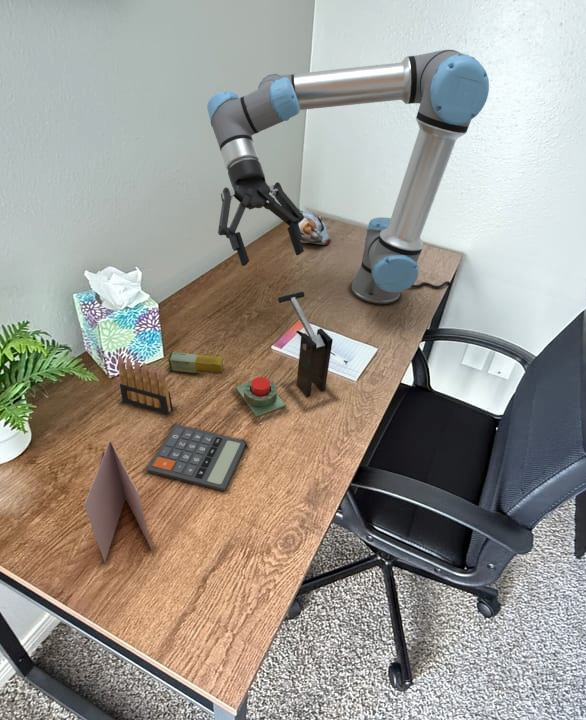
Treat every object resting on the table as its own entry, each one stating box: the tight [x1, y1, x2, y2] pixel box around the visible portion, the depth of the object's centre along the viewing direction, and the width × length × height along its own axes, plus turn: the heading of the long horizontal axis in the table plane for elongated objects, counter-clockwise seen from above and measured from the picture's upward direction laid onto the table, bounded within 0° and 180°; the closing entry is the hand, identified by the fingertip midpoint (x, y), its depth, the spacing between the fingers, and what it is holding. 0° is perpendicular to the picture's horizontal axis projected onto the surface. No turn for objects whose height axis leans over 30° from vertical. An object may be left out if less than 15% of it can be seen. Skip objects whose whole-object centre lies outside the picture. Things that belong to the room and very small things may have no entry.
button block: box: [235, 379, 287, 418], centre depth 100 cm, size 10×7×4 cm
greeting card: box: [83, 440, 153, 562], centre depth 71 cm, size 11×7×15 cm, turn 3°
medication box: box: [167, 351, 224, 374], centre depth 106 cm, size 12×3×4 cm, turn 87°
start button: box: [251, 376, 271, 396], centre depth 99 cm, size 4×4×2 cm
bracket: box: [296, 328, 334, 398], centre depth 101 cm, size 9×8×16 cm
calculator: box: [146, 424, 247, 492], centre depth 88 cm, size 12×1×15 cm
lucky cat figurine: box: [298, 208, 332, 246], centre depth 165 cm, size 15×12×14 cm
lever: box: [277, 291, 325, 352], centre depth 99 cm, size 14×6×2 cm, turn 35°
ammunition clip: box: [117, 355, 174, 416], centre depth 94 cm, size 11×2×12 cm, turn 75°
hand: (273, 258), depth 102 cm, fingers open, 13 cm apart
